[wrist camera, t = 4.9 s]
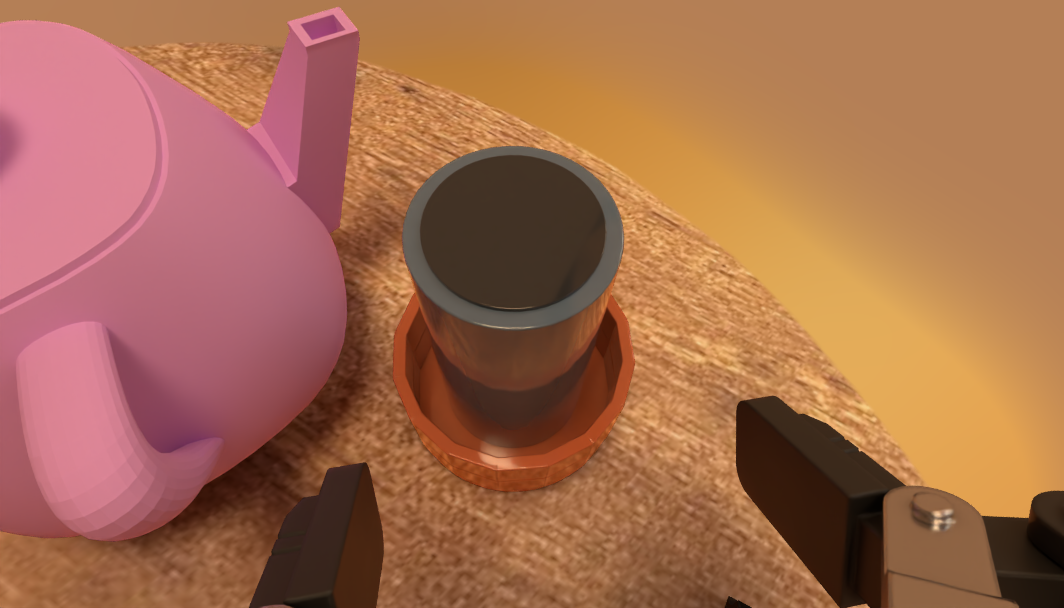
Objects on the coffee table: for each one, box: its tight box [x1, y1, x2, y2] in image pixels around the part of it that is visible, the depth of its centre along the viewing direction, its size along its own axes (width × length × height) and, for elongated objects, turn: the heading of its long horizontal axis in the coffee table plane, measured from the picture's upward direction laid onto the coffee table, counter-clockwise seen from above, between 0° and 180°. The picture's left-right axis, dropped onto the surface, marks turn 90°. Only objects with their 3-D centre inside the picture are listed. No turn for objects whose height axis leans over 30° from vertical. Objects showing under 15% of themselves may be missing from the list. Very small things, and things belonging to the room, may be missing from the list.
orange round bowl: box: [393, 293, 635, 492], centre depth 25 cm, size 9×9×4 cm
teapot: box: [0, 7, 360, 542], centre depth 21 cm, size 20×20×15 cm
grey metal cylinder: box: [402, 146, 624, 448], centre depth 21 cm, size 6×6×12 cm
